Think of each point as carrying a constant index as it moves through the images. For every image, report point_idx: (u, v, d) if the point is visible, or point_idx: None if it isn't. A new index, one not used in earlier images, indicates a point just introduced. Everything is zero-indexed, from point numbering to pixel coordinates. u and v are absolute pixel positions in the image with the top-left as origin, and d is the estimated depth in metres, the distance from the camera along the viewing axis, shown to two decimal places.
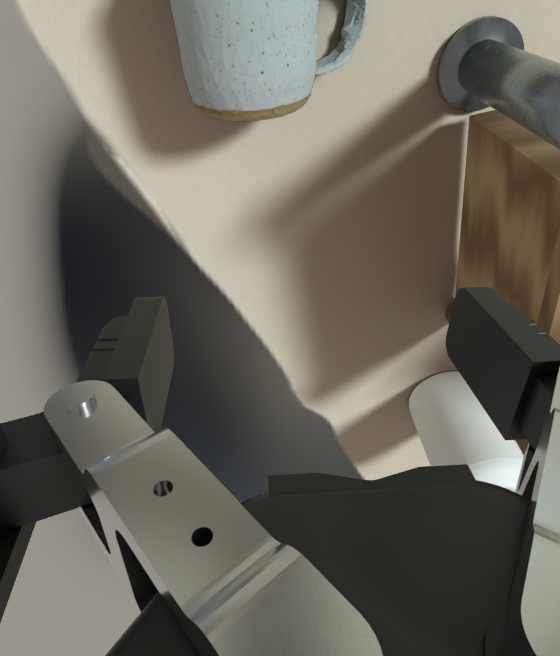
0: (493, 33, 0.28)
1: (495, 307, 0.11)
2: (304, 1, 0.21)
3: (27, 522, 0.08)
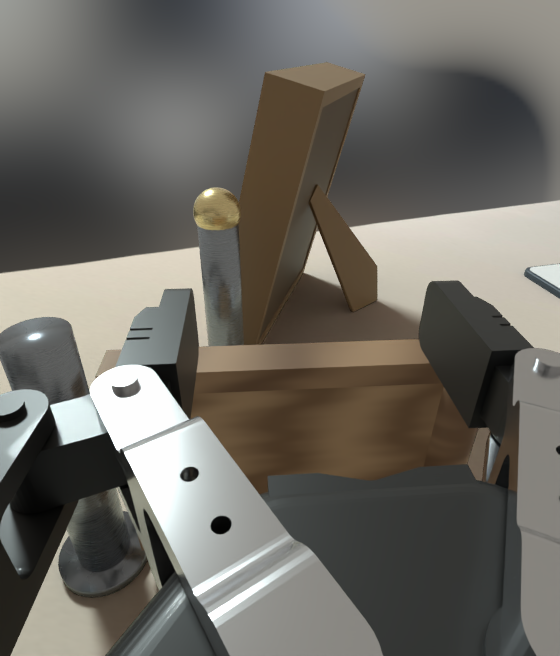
0: None
1: (461, 299, 0.11)
2: None
3: (73, 499, 0.09)
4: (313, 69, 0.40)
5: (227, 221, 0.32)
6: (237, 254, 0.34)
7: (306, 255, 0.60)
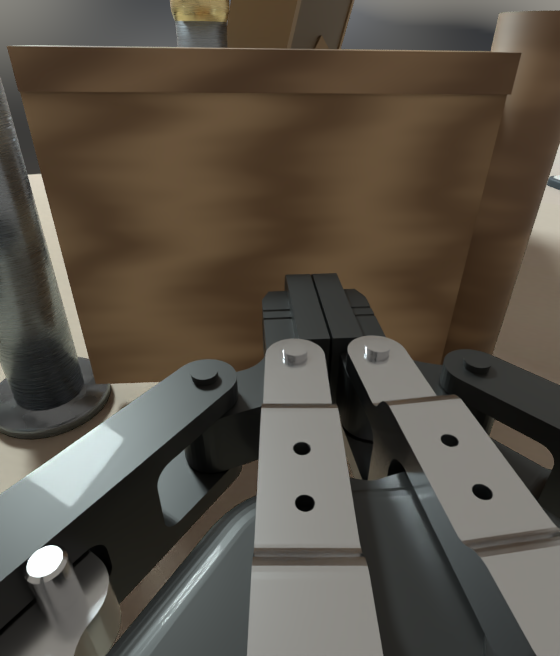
0: None
1: (329, 290, 0.12)
2: None
3: (247, 461, 0.09)
4: None
5: (212, 8, 0.26)
6: None
7: None
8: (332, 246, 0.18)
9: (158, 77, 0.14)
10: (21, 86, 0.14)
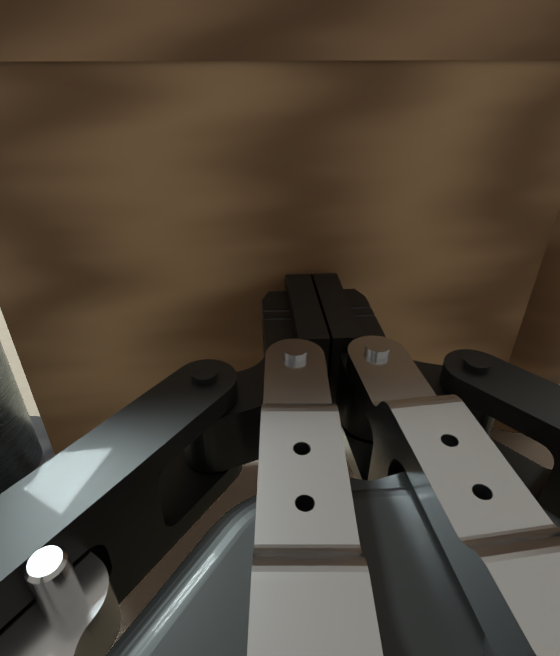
0: None
1: (329, 290, 0.12)
2: None
3: (246, 461, 0.09)
4: None
5: None
6: None
7: None
8: (368, 271, 0.13)
9: (123, 38, 0.10)
10: None
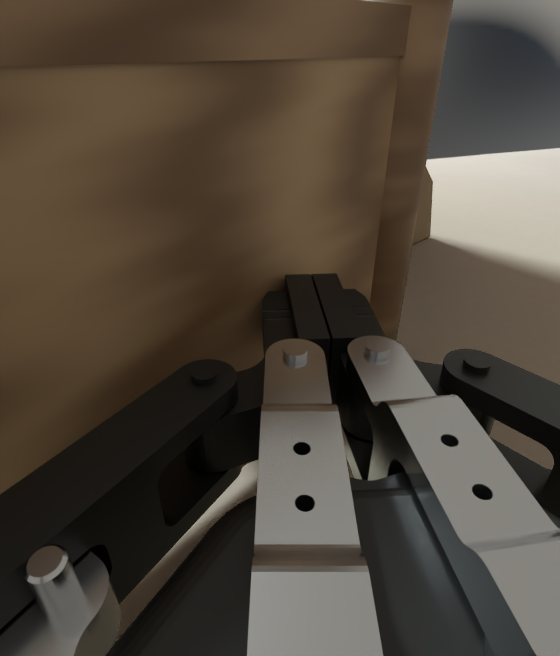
0: None
1: (329, 290, 0.12)
2: None
3: (246, 461, 0.09)
4: None
5: None
6: None
7: None
8: (269, 281, 0.13)
9: None
10: None
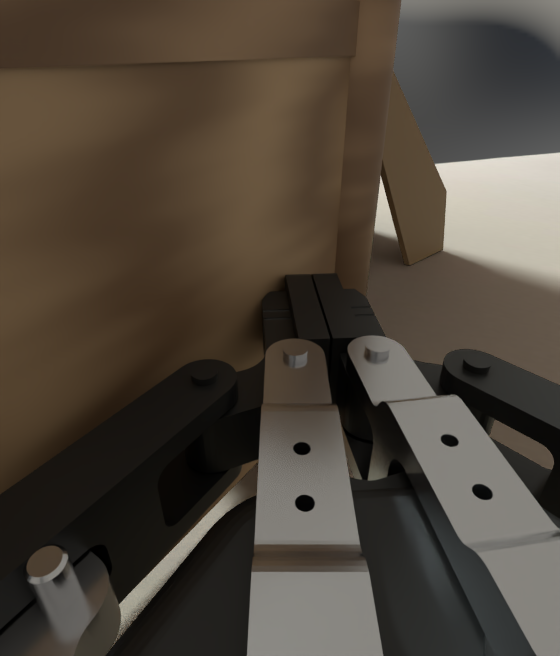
0: None
1: (329, 290, 0.12)
2: None
3: (247, 461, 0.09)
4: None
5: None
6: None
7: None
8: (224, 311, 0.11)
9: None
10: None
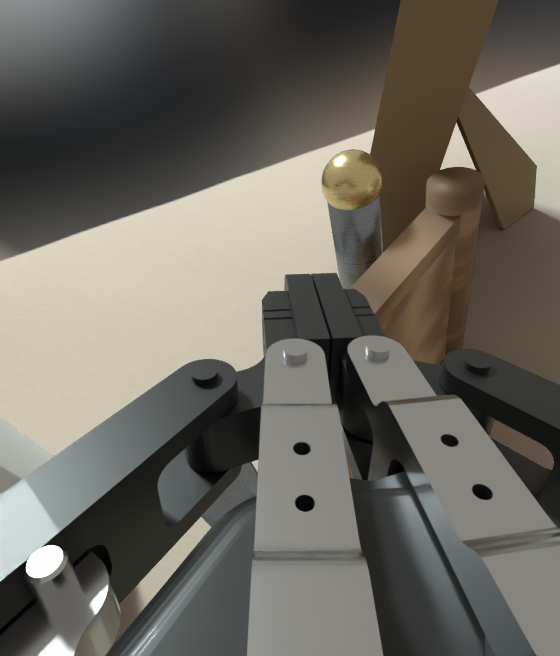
0: None
1: (329, 290, 0.12)
2: None
3: (247, 461, 0.09)
4: None
5: (368, 197, 0.25)
6: (379, 228, 0.27)
7: None
8: None
9: None
10: None
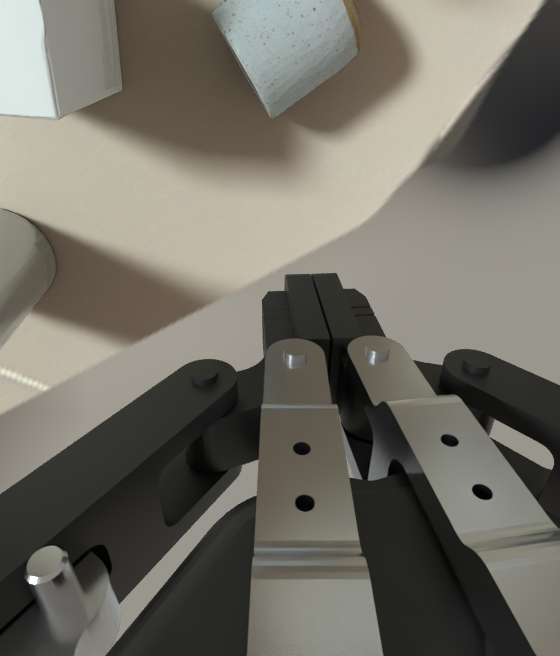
0: None
1: (329, 290, 0.12)
2: (257, 0, 0.28)
3: (247, 461, 0.09)
4: None
5: None
6: None
7: None
8: None
9: None
10: None
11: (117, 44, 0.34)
